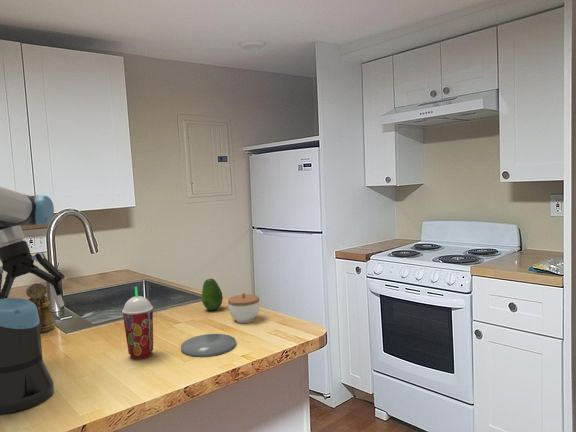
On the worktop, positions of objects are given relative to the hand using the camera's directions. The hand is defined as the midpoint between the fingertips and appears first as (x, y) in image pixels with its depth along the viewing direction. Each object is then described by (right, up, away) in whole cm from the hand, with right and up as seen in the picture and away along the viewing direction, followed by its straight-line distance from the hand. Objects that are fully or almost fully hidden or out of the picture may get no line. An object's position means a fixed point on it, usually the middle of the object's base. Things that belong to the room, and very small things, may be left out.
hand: (38, 314), depth 132 cm
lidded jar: (+56, -8, +30) cm, 64 cm away
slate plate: (+47, -11, +6) cm, 49 cm away
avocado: (+43, -8, +44) cm, 61 cm away
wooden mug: (-14, -12, +28) cm, 33 cm away
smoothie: (+29, -12, +1) cm, 31 cm away
